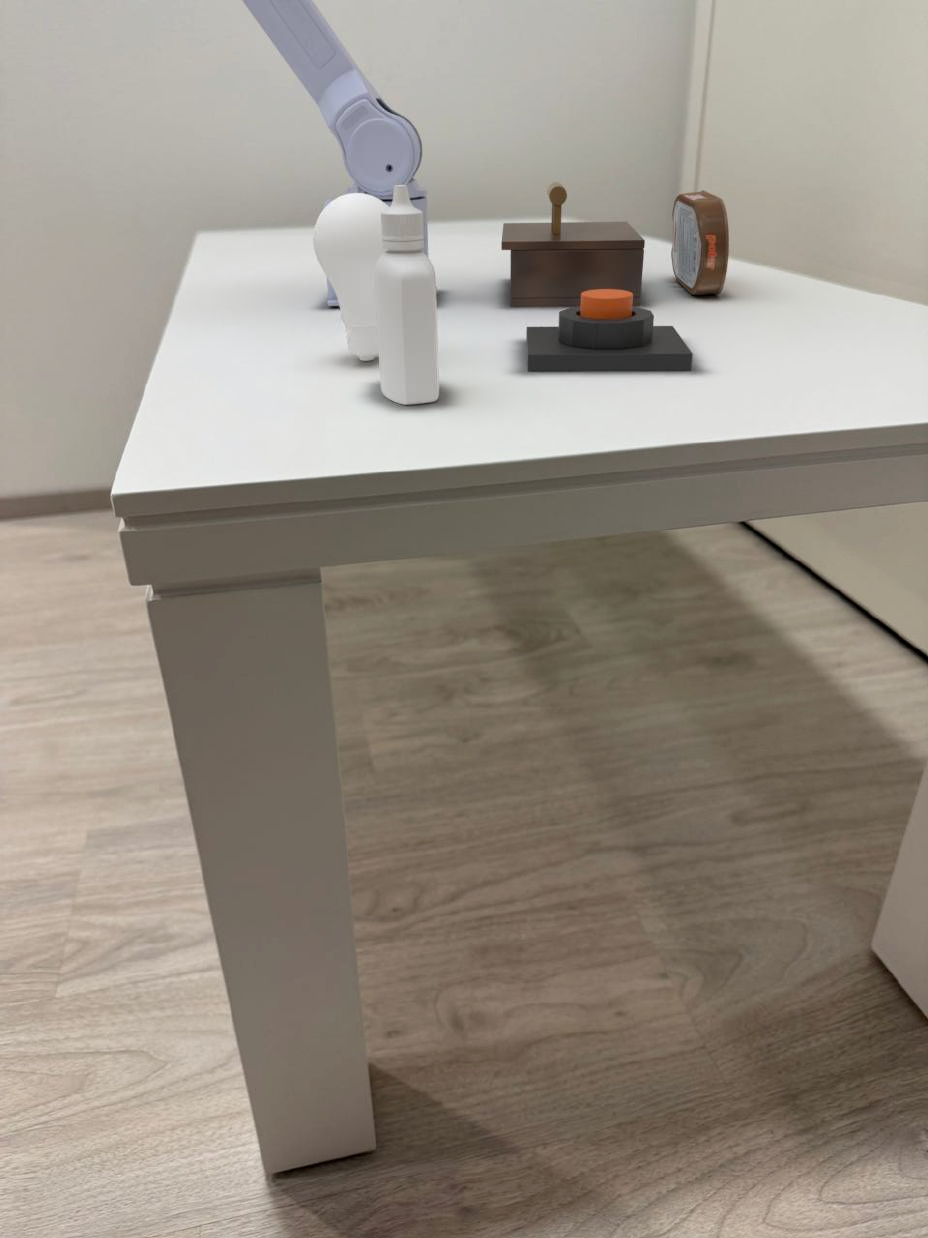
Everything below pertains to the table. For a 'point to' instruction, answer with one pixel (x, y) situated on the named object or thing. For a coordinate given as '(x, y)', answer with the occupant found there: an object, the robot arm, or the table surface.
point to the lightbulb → (353, 264)
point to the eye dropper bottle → (406, 307)
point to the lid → (568, 231)
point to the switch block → (606, 345)
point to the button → (606, 304)
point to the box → (572, 275)
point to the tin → (700, 242)
